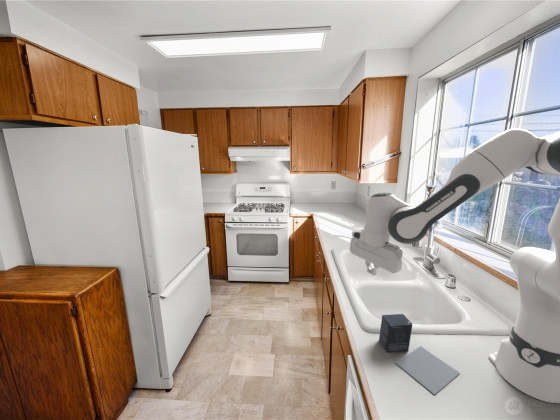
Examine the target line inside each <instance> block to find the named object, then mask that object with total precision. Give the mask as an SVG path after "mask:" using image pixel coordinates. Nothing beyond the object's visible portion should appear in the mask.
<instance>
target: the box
mask: <svg viewBox="0 0 560 420" xmlns="http://www.w3.org/2000/svg"><path fill="white" fill-rule="evenodd" d="M412 329H413V323H412V322H411V320H409V319H408V318H407V317H406V315H405V314H404V313H400V314H399V313H396V314H395V313H394V314H393V313H392V314H382V315H381V323H380V331H379V338H378V342H380V344H381V346H382V347H383V349H384V350H385V352H386V353H396V352H397V353H398V352H399V353H400V352H409V348H410V343H411V336H412Z"/></svg>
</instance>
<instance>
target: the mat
mask: <svg viewBox="0 0 560 420" xmlns="http://www.w3.org/2000/svg"><path fill="white" fill-rule="evenodd" d="M395 364H396V365H397V366H398V367H400V368H401V369H402V370H403V371H404V372H405V373H406V374H408V375H409V376H410V377H412V379H414V380H415V381H416V382H418V383H419V384H420V385H421V386H423V387H424V388H425V389H426V390H427V391H429V392H430V393H431V394H432V395H434V396H436V394H438V393H439V392H440V391H442V390H443V389H444V388H445V387H446V386H447V385H449V383H451V382H452V381H453V380H455V378H457V376H459V375H460V374H461V372H459V371H458V370H456V369H455V368H453V367H452V366H451V365H449V364H448V363H446V362H444V361H443V360H442V359H441V358H439V357H438V356H436V355H434V354H433V353H432V352H430V351H428V350H427V349H425V348H424V347H423V346H419V347H418V348H416V349H414V350H413V351H411V352H410V353H407V354H406V355H405V356H403V357H402V358H399V360H397V361H395Z"/></svg>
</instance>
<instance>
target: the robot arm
mask: <svg viewBox="0 0 560 420" xmlns="http://www.w3.org/2000/svg"><path fill="white" fill-rule="evenodd" d="M525 168H526V169H527V170H528V171H529V170H530V171H532V172H534V173H537V174H540V175H548V176H557V177H560V131H558V132H555V133H553V134H550V135H545V136H541V137H538V136H536V135H534V134H533V133H532V132H531V131H529V130H526V129H524V128H523V129H522V128H517V127H516V128H510V129H508V130H505V131H502V132H501V133H499V134H497V135H496V136H493V137H492V138H490V139H489V140H487V141H485V142H483V143H482V144H480V145H479V146H477V147H476V148H475V149H474V150H472V151H471V152H469V153H468V154H466V155H465V156H464V157H463V158H461V159H460V161H459V162H457V163H456V165H455V166H454V167H453V168H451V171H450V174H449V177H448V179H447V181H446V183H445V184H444V185H443V186H442V187H441V188H439V190H437V191H436V192H435V193H433V194H432V195H431V196H430V197H427V199H425V200H424V201H422V202H421V203H420V204H418V205H417V206H415V205H413V204H410V203H408V202H405V201H403V200H402V199H400V198H398V197H397V196H396V195H395V194H393V193H391V192H379V193H375V194H372V195H371V196H370V197H369V198H368V201H367V204H366V205H367V206H366V211H365V224H364V228H363V229H359V230H358V229H357V230H354V231H352V232H351V237H352V238H350V244H349V252H350V253H351V254H352V255H354V256H356V257H358V258H360V259H362V260H365V266H366V273H368V274H370V275H372V276H376V275H377V272H378V270H379V269H380V268H381V269H383V270H385V271H387V272H389V273H391V274H396V273H399V272H401V271H402V267H403V254H404V253H403V250H402V248H401V247H400V246H399V245H397V244H393V243H392V242H390V238H391V237H392V238H393V239H394V240H395V241H397V242H398V243H401V244H405V245H409V244H410V245H411V244H412V245H413V244H416V243H418V242H420V241H421V240H423V238H424V237H425V236H426V234H427V233H428V232H429V229H430V228H431V227H432V226H433V225H435V223H436V222H438V221H439V220H441V219H442V218H443V217H445V216H446V215H448V214H449V213H451V212H452V211H453V210H455V209H456V208H457V207H459V206H460V205H462V204H463V203H464V202H466V201H468V200H470V199H472V198H473V197H475V196H477V195H478V194H481V193H482V192H484V191H487V190H488V189H489V188H492V187H494V186H495V185H496V184H498V183H500V182H502V181H504V180H505V179H507V178H508V177H510V176H511V175H512V174H513V173H515V172H518V171H520V170H522V169H525ZM547 233H548V235H549V237H550V238H551V239H552V241H553V243H554V248H555V249H554V250H555V252H554V251H552V250H549V249H545V248H541V247H535V246H523V247H521V248H518V249H517V250H515V251H514V252H513V253H512V254H511V256H510V259H509V266H510V268H511V269H512V272H513V273H514V275H515V279H516V282H517V288H518V297H519V306H518V311H517V316H516V319H515V320H516V321H515V324H514V326H513V327H512V328H511V330H510V332H509V337H508V338H505V339H502V340H501V341H500V344H499V347H498V350H497V351H495V352H493V353H490V354H489V355H488V359H489V360H490V361H491V363H492V364H493V365H495V367H496V370H497V371H498V373H499V374H500V376H501V377H502V378H503V379H504V380H506V382H507V383H509V384H510V385H511V386H513V387H514V388H515V389H517V390H519V391H521V392H522V393H525V394H526V395H527V396H529V397H532V398H534V399H537V400H540V401H542V402H546V403H553V404H560V198H558V201H557V204H556V206H555V209H554V211H553V213H552V216H551V218H550V221H549V223H548V226H547ZM372 264H373V265H372ZM372 266H373V267H372Z"/></svg>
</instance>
